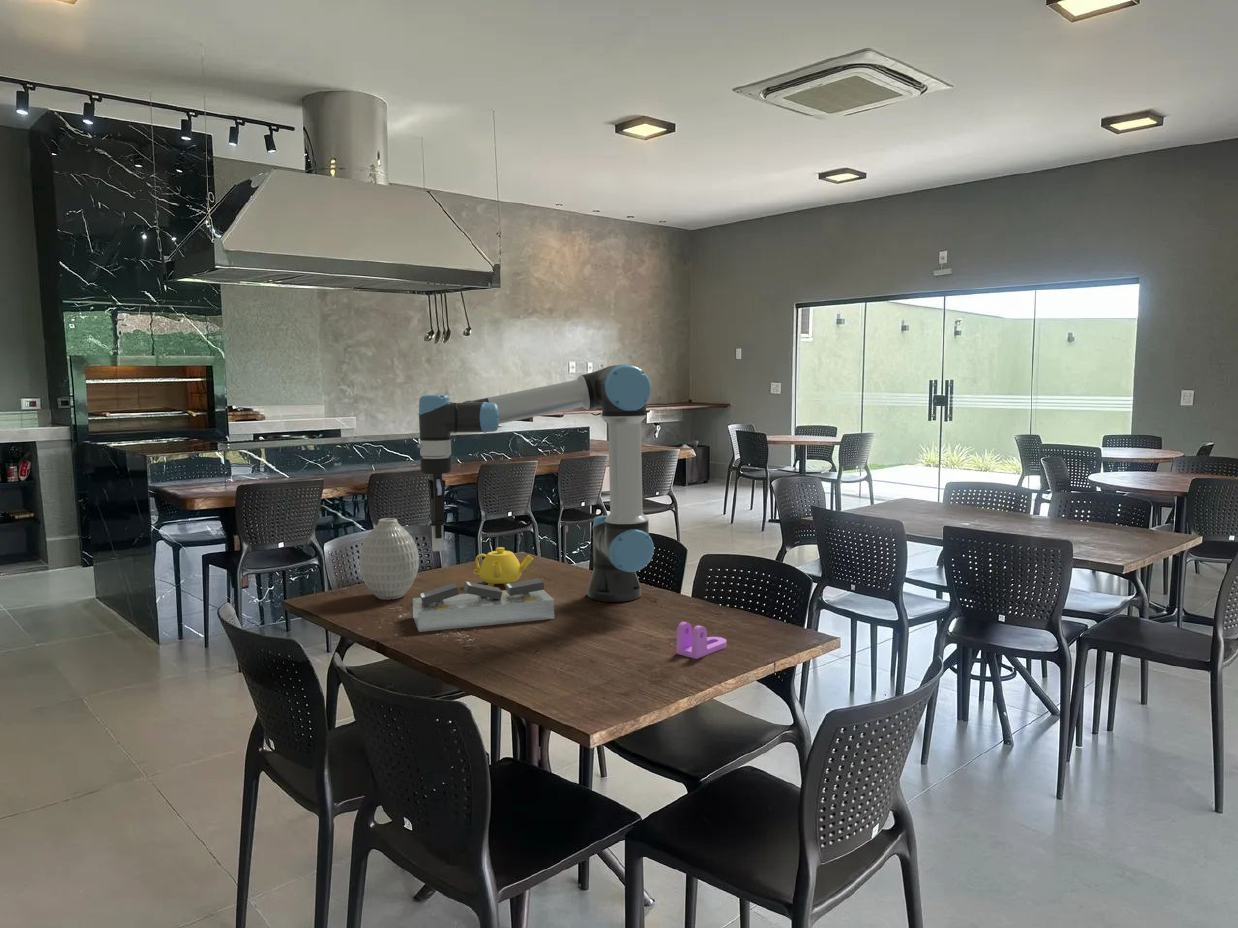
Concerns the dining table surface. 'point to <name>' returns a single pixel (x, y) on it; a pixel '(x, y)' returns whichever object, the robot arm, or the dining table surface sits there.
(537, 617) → the console
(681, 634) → the bracket
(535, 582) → the switch
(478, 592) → the switch
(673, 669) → the dining table surface
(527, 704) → the dining table surface
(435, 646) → the dining table surface
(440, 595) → the switch
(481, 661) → the dining table surface
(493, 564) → the teapot
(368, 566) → the vase
